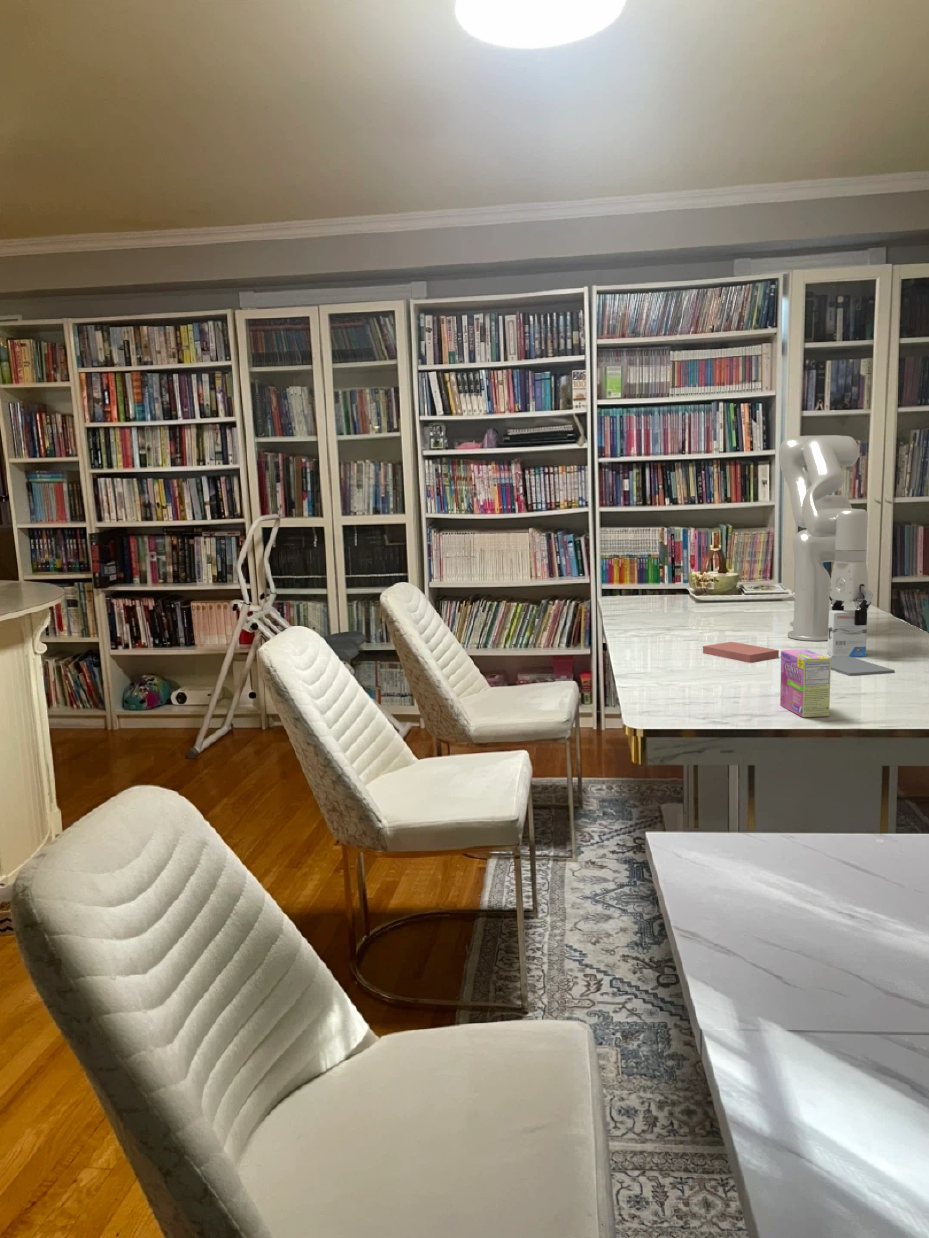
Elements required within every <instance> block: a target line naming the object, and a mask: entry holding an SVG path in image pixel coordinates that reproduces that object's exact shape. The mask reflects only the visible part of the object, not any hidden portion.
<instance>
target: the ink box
mask: <svg viewBox="0 0 929 1238" xmlns="http://www.w3.org/2000/svg"><path fill="white" fill-rule="evenodd" d="M855 610H856V609H853V610H847V609H846V610H845V609H844V610H841V611H834V610H832V609H831V610H830V609H829V624H828V640H827V649H826V650H827V652H826V653H827V654H828V655H829V656H831V657H844V656H850V657H853V658H865V657H866V655H867V636H868V635H867V634H868V624H867V625H860V626H856V625H854V617H855Z"/></svg>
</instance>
